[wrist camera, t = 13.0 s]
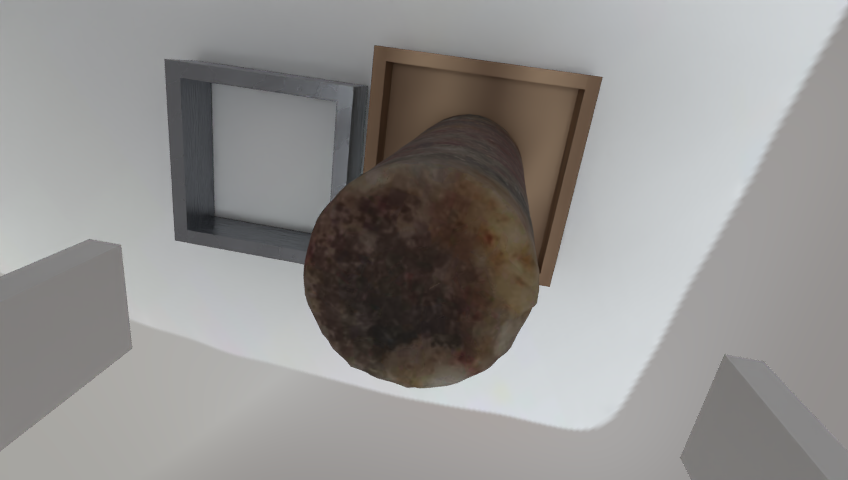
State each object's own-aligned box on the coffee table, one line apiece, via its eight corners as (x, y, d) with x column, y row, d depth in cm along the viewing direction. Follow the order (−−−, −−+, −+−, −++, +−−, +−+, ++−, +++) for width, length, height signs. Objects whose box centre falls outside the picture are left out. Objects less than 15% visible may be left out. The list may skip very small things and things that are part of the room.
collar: (202, 225, 38) (175, 240, 34) (197, 60, 33) (164, 59, 30) (353, 253, 36) (339, 270, 33) (368, 85, 32) (353, 87, 29)
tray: (367, 238, 36) (356, 251, 33) (385, 48, 31) (374, 45, 28) (545, 269, 35) (549, 286, 32) (592, 76, 30) (602, 77, 27)
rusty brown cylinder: (390, 166, 33) (252, 286, 14) (463, 85, 30) (411, 102, 12) (468, 239, 34) (435, 442, 15) (544, 167, 31) (618, 301, 13)
